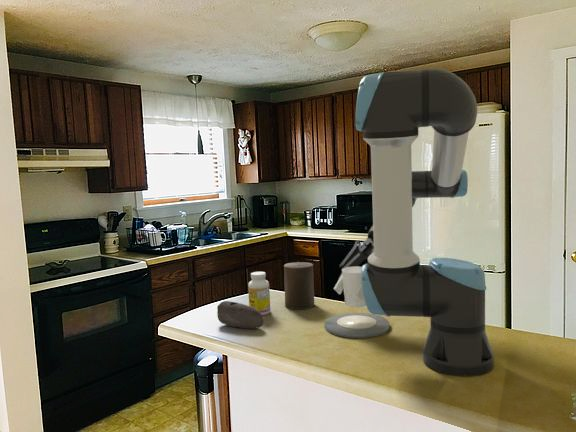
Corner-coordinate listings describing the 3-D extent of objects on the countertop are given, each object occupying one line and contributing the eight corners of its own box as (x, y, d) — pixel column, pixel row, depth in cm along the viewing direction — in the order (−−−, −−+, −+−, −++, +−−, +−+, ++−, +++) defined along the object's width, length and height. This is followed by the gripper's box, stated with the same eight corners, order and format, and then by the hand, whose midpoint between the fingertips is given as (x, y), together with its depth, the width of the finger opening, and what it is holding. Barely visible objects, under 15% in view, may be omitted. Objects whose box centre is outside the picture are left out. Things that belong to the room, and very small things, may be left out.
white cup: (338, 306, 133) (337, 271, 132) (348, 298, 140) (347, 265, 139) (365, 309, 129) (364, 273, 128) (374, 301, 136) (374, 267, 135)
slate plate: (392, 338, 125) (392, 332, 124) (323, 338, 127) (323, 332, 126) (386, 316, 142) (386, 311, 142) (326, 316, 144) (325, 311, 144)
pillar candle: (305, 311, 151) (304, 264, 149) (279, 307, 156) (277, 262, 154) (319, 303, 159) (318, 259, 157) (294, 300, 164) (293, 257, 163)
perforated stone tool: (268, 328, 137) (267, 304, 136) (258, 333, 132) (256, 309, 132) (227, 320, 145) (226, 298, 144) (216, 326, 140) (214, 303, 139)
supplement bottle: (247, 311, 153) (245, 272, 152) (267, 308, 155) (265, 270, 154) (252, 317, 147) (250, 276, 145) (272, 314, 149) (271, 274, 147)
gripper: (419, 240, 134) (382, 309, 126) (365, 234, 150) (329, 294, 142) (407, 224, 130) (368, 293, 122) (352, 219, 146) (315, 280, 138)
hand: (347, 294), depth 132 cm, fingers closed on white cup, 8 cm apart
